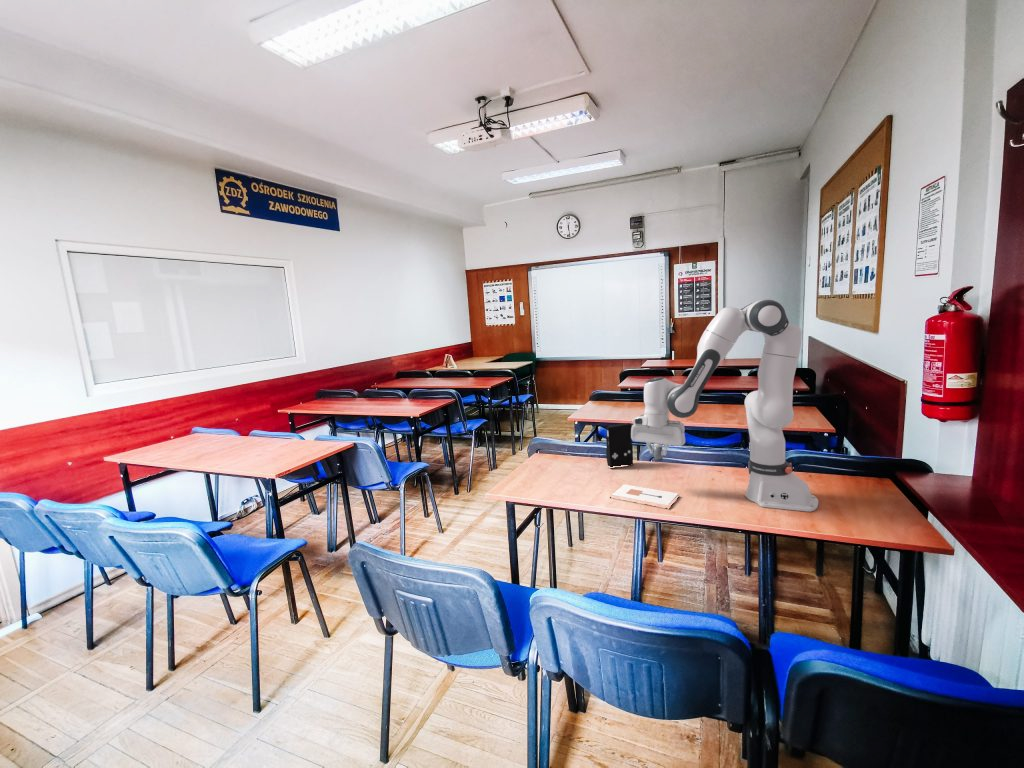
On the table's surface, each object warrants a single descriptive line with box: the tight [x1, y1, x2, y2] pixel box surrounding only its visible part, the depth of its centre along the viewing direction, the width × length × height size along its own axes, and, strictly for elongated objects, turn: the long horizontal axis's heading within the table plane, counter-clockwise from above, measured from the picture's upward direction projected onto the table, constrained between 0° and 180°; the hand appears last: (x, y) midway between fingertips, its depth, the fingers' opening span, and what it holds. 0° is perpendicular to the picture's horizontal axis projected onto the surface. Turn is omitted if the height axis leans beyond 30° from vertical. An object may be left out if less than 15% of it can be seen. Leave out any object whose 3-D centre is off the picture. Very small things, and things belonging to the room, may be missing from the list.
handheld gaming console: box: [605, 422, 634, 467], centre depth 207 cm, size 12×5×20 cm, turn 105°
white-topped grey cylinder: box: [652, 443, 664, 462], centre depth 171 cm, size 3×3×7 cm
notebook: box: [611, 483, 679, 506], centre depth 171 cm, size 23×13×1 cm, turn 52°
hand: (658, 454), depth 172 cm, fingers closed on white-topped grey cylinder, 3 cm apart
